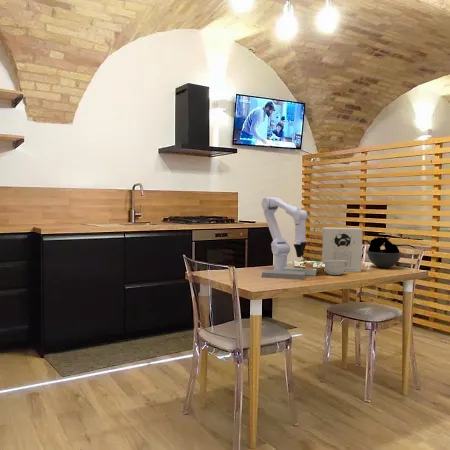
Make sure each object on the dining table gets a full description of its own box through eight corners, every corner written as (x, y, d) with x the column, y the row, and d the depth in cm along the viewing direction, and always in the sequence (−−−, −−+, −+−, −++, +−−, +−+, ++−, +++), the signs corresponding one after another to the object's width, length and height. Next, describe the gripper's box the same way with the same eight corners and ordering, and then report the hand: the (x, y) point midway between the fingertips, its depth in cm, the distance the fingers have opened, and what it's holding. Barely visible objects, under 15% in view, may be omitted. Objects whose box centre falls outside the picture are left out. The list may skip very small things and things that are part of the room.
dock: (265, 273, 259) (265, 269, 258) (305, 276, 253) (305, 271, 253) (261, 277, 248) (262, 272, 248) (303, 279, 242) (303, 274, 242)
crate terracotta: (305, 268, 261) (305, 263, 261) (313, 268, 260) (313, 263, 260) (305, 269, 257) (305, 263, 257) (312, 269, 256) (312, 264, 256)
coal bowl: (375, 264, 303) (376, 235, 302) (406, 267, 289) (407, 237, 288) (360, 267, 288) (361, 237, 287) (392, 271, 274) (393, 239, 273)
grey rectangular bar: (282, 274, 260) (282, 268, 260) (284, 273, 265) (284, 267, 265) (315, 276, 255) (315, 270, 255) (316, 274, 260) (316, 268, 260)
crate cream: (287, 267, 264) (287, 262, 264) (294, 267, 263) (294, 262, 263) (286, 268, 260) (286, 263, 260) (293, 268, 259) (293, 263, 259)
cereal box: (358, 270, 277) (360, 228, 276) (361, 272, 270) (362, 228, 268) (321, 269, 280) (322, 227, 278) (323, 271, 272) (324, 228, 271)
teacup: (329, 276, 253) (329, 261, 253) (321, 273, 264) (321, 259, 263) (353, 275, 256) (353, 261, 255) (344, 272, 266) (344, 258, 266)
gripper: (305, 232, 250) (305, 258, 251) (309, 231, 264) (309, 255, 265) (292, 232, 252) (292, 257, 253) (296, 231, 266) (296, 255, 267)
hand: (300, 256), depth 259 cm, fingers open, 7 cm apart
